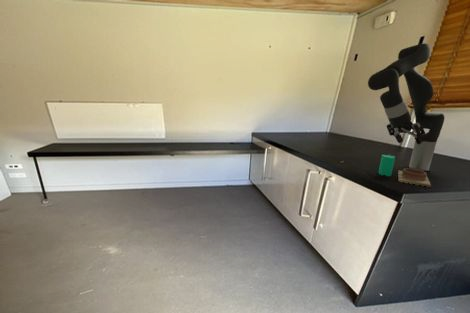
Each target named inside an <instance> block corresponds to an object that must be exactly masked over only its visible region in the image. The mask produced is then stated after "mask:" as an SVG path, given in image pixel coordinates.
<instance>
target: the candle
mask: <svg viewBox="0 0 470 313" xmlns="http://www.w3.org/2000/svg"><path fill="white" fill-rule="evenodd" d="M395 161H396V156H395V155H390V154H388V155H387V154H381V158H380V163H379V168H378V173H379V174H378V175H380V174H381V175H380V176H383V175H386V176H385V177H391V176H392V174H393V168H394V165H395Z"/></svg>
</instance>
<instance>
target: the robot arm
mask: <svg viewBox="0 0 470 313" xmlns="http://www.w3.org/2000/svg"><path fill="white" fill-rule="evenodd" d="M430 56H431V47H430V44H428V43H419V44H415V45H412V46H409V47H408V46H407V47H405V48H403V49H401V50H400V51H399V52H398V54H397V60H395V61H393V62H392V63H390V64H389V65H388V66H386V67H384V68H383V69H380V70H378V71H377V72H375V73H374V74H371V75H370V76H369V78H368V80H367V86H368V88H369V89H370V90H372V91H379V90H382V89H386V88H388V90H387V91H384V92H383V93H382V94H381V95H380V96H379V99H380V103H381V105H382V107H383V109H384V112H385V115H386V118H387V119H388V122H389V123H388V124H387V125H386V129H387V131H388V134H389V136H392V137H394V138H395V140H396V142H397V143H398V144H402V142H404V139H403V137H402V134H403V133H404V134H407V135H410V136H412V137H413V138H414V140H415V141H414V144H413V149H412V152H411V153H412V154H411V157H410V161H409V165H408V168H409V169H417V170H421V171H424V172H426V171H429V170H430V167H431V165H432V164H431V163H432V160H433V156H434V153H435V150H436V144H437V142H438V139H439V137H440V134H441V131H442V128H443V126H444V122H445V115H444V113H440V112H428V111H427V109H426V108H427V107H426V106H427V105H428V103H430V101H431V100H432V98H433V96H434V87H433V83H432V82H431V80H430V79H428V78H427V77H426V76H424V75H423V74H420V72H418V71H417V70H416V69H415V68H416V67H418V66H420V65H423V64H425V63H427V62H428V60H429V59H430ZM402 76H404V79H405V82H406V86H407V90H408V93H409V97H410V99H411V103H412V107H413V111H414V117H415V123H413V122H412V116H411V114H410V111H409V109H408V107H407V105H406V102H405V101H404V99H403V97H402V93H401V91H400V78H401V77H402ZM425 130H428V131H427V132H426V131H425Z"/></svg>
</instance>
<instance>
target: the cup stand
mask: <svg viewBox="0 0 470 313" xmlns="http://www.w3.org/2000/svg"><path fill="white" fill-rule="evenodd" d="M397 179H398V180H397V181H399V183H403V182H404V183H405V184H408V183H409V184H410V185H413V184H415V185H414V186H419V185H421V186H420V187H424V186H426V187H425V188H429V187H430V188H432V185H431V181H430V180H429V177H428V174H427V172H426V171H422V170H417V169H412V168H409V167H407V168H403V169H402V170H400V169H399V170H398V171H397ZM409 184H408V185H409Z"/></svg>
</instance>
